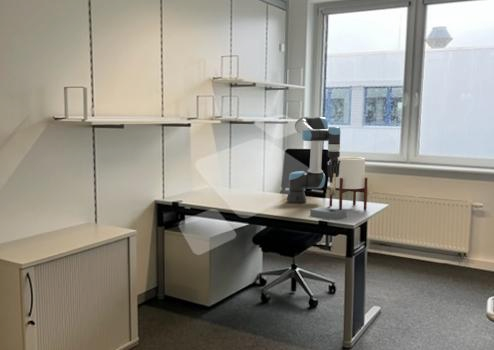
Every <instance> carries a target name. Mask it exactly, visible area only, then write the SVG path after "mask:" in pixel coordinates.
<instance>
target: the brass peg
mask: <svg viewBox="0 0 494 350" xmlns="http://www.w3.org/2000/svg"><path fill="white" fill-rule="evenodd" d="M333 178H334V188H331V190H330V189H329V196H330V195H332V196H336V190H335V178H336V173H334V174H333Z"/></svg>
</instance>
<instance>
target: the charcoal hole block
mask: <svg viewBox="0 0 494 350" xmlns="http://www.w3.org/2000/svg"><path fill="white" fill-rule="evenodd" d="M309 211H310V212H309V213H310V215H309V216H311V217H315V218H316V217H317V218H323V219H330V220H341V219H344V218H347V212H348V211H347V210H345V209H344V210H343V209H342V210H339V209H337V208H329V207H322V206H318V207H316V208H311V209H309Z"/></svg>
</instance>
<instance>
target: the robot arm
mask: <svg viewBox="0 0 494 350" xmlns="http://www.w3.org/2000/svg"><path fill="white" fill-rule="evenodd" d="M294 129H295V131H296V132H297V133H299V134H301V139H302V141H305V142H310V154H309V155H310V156H309V157H310V158H309V168H308V169H307V172H305V170H299V171H298V170H297V171H293V172H290V173H289V177H288V194H287V197H286V203H288V204H293V205H301V204H306V203H307V201H308V200H307V196H306V194H305V189H316V190H317V189H322V188H323V187H325V183H326V175H325V173H324V170H322V162H323V161H322V159H323V157H322V156H323V144H324V143H323V142H327V151H328V152H327V157H328V158H329V159H328V161H326V166H327V168H326V169H327V170H326V171H327V177H328V178H329V189H330V188H334V178H333V174H334V173H336V178H335V187H337V177H338V176H339V167H340V161H339V160H338V157H341V152H340V150H341V127H339V126H328V121H327V118H326V117H323V116H304V117H301V118H299V119H297V120H296V122H295V123H294Z"/></svg>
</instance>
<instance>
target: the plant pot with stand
mask: <svg viewBox="0 0 494 350" xmlns="http://www.w3.org/2000/svg"><path fill="white" fill-rule="evenodd" d="M338 160H339V161H340V167H339V176H338V177H337V187H335V191H338V192H339V199H338V200H339V201H338V210H343V194H345V193H347V192H352V194H353V195H352V206H356V203H357V197H356V196H357V193H362V194H363V210H364V211H366V210H367V205H368V204H367V203H368V201H367V199H368V177H365V176H366V173H365V172H366V158H365V157H360V156H340V157H338ZM330 190H331V188H330V187H329V191H330ZM332 206H333V195H330V194H329V207H332Z"/></svg>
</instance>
